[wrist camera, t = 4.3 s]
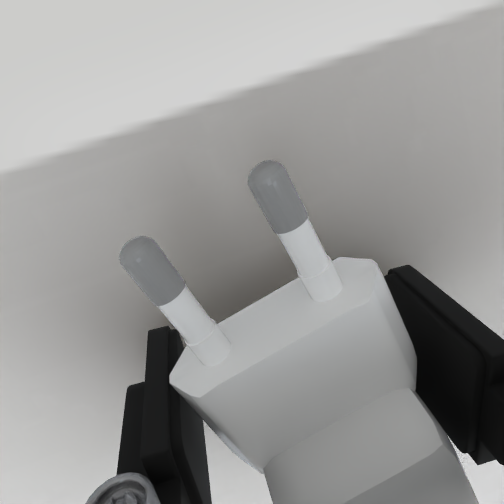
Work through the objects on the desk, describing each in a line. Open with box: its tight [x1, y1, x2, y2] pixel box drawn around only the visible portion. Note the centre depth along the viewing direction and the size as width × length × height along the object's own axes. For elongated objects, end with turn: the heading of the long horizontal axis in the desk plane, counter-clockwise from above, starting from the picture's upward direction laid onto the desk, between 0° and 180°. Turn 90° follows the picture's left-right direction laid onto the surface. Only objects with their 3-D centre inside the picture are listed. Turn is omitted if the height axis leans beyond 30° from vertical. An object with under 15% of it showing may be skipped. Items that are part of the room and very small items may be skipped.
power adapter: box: [119, 160, 479, 504], centre depth 10 cm, size 11×5×6 cm, turn 29°
